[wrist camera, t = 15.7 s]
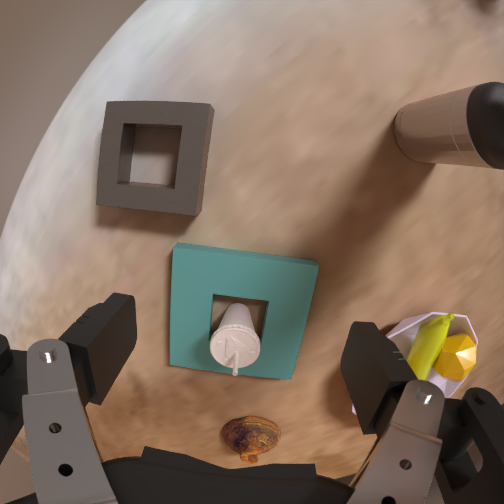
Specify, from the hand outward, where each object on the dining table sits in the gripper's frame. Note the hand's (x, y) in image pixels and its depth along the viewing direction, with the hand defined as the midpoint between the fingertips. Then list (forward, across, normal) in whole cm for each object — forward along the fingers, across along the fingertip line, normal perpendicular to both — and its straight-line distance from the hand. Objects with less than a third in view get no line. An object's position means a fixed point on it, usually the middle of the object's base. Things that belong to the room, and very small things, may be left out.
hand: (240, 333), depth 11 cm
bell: (+32, -5, +45) cm, 56 cm away
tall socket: (+32, +14, -6) cm, 35 cm away
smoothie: (+32, 0, +16) cm, 36 cm away
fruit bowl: (+33, -33, +23) cm, 52 cm away
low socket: (+32, 0, +16) cm, 36 cm away
